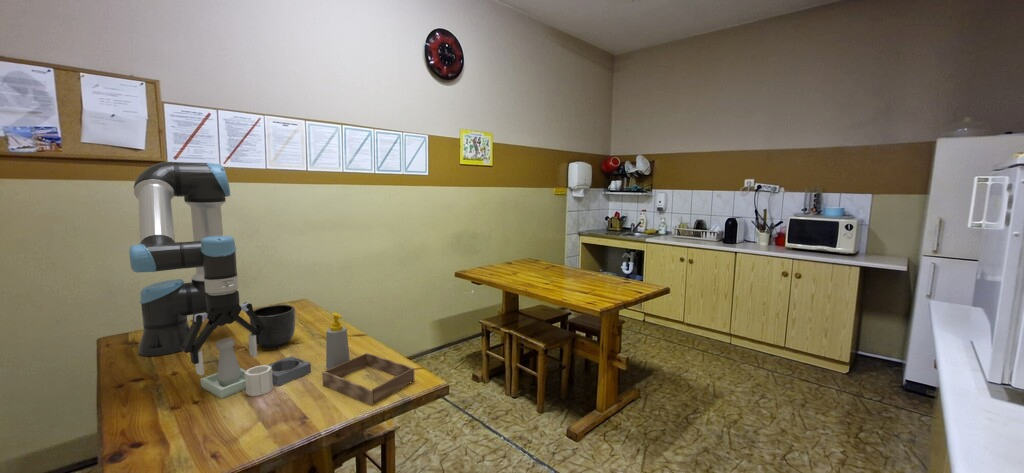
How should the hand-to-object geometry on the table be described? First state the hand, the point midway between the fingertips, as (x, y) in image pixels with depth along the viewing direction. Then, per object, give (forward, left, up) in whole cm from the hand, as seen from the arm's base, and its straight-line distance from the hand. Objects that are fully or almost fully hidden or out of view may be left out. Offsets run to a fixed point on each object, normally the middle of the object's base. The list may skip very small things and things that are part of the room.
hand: (228, 364), depth 114 cm
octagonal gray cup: (+10, +3, -6) cm, 12 cm away
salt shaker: (0, 0, -6) cm, 6 cm away
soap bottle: (+17, +23, -7) cm, 29 cm away
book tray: (+33, +22, -6) cm, 40 cm away
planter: (-19, +23, -7) cm, 31 cm away
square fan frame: (+7, +12, -6) cm, 15 cm away
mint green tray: (0, 0, -6) cm, 6 cm away
